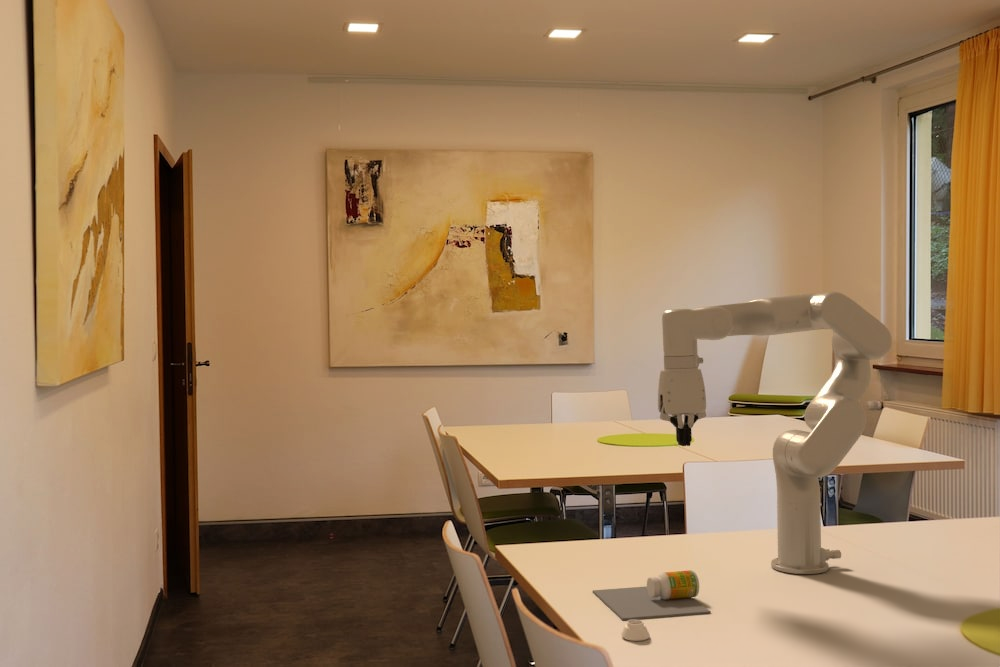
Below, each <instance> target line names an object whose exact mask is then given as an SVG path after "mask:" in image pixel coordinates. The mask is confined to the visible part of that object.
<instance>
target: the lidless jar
mask: <svg viewBox="0 0 1000 667" xmlns="http://www.w3.org/2000/svg"><path fill="white" fill-rule="evenodd" d="M620 635H621V638H623V639H625V640H627V641H630V642H643V641H646V640H648V639H649V638H650V637H651V636H650V633H649V631H648V628H647V626H646V625H645V623H644V621H643V620H642V619H633V620H626V624H625V625H624V626H623V629H622V630H621V634H620Z"/></svg>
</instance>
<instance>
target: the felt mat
mask: <svg viewBox="0 0 1000 667" xmlns="http://www.w3.org/2000/svg"><path fill="white" fill-rule="evenodd" d="M592 593H593V594H594V595H595V597H597V598H598V599H599V600H600V601H601V602H602V603H603V604H605V606H607V608H609V609H610V610H611V611H612V612H613V613H614V614H615V616H617V617H618V618H619V619H620V620H621V621H628V620H643V619H644V620H645V619H655V618H656V619H657V618H658V619H659V618H667V617H668V618H669V617H680V616H682V617H683V616H694V615H706V614H707V615H709V614H712V612H711V610H710V609H708V608H707V607H706V606H704V605H703V604H702V603H700V602H698V600H696V599H694V597H690V598H679V599H669V600H664V599H662V598H661V597H660V596H659V597H650V596H649V594H648V591H647V585H646V586H635V587H634V586H633V587H622V588H608V589H607V588H605V589H593V590H592Z"/></svg>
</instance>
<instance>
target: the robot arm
mask: <svg viewBox="0 0 1000 667" xmlns="http://www.w3.org/2000/svg"><path fill="white" fill-rule="evenodd" d="M661 316H662V317H661V322H662V323H661V324H662V325H661V326H662V346H663V348H662V349H663V368H664V369H663V370H660V373H659V378H658V390H657V410H658V412H659V413H660V415H659V419H660V420H661V421H665V422H666V421H667V422H669V423H671V424H672V425H673V427H674V428H675V432H676V433H675V436H676V442H677V444H678V446H682V447H686V446H687V447H690V446H691V442H692V440H693V439H692V438H693V436H692V435H693V434H692V428H694V425H695V423H696V422H697V421H698V420H701V419H704V418H706V417H707V413H706V410H707V397H706V396H707V395H706V387H705V382H704V377H703V373H702V369H701V368H699V367H700V364H704V357H699V354H698V340H706V341H707V340H708V341H718V340H723V339H725V338H727V337H735V336H737V337H738V336H758V337H759V336H760V337H761V336H775V335H777V336H778V335H783V334H784V335H785V334H792V333H799V332H801V333H802V332H809V331H819V330H831V331H832V332H833V333H832V337H831V345H832V350H833V353H834V354H833V355H834V361H835V362H834V368H833V371H832V373H831V374H830V376H829V377H828V378H827V379H826V382H825V383H824V384H823V385H822V387H821V388H820V389H819V391H818V392H817V394H816V395H815V396H814V397H813V398H812V400H811V401H810V402H809V403H808V405H807V407H806V408H805V411H804V416H803V418H804V422H805V424H806V425H807V427H808V429H810V430H811V432H809V431H806V430H805V431H804V430H802V429H801V430H799V429H790V430H789V429H788V430H787V431H784V432H782V433H781V434H779V435H778V437H777V438H776V439H775V441H774V443H773V447H772V459H773V466H774V471H775V479H776V509H777V510H776V516H777V518H776V520H777V522H776V523H777V524H776V525H777V557H776V558H775V557H774V558H773V559H772V560H771V562H770V565H771V566H770V567H771V568H773V570H776V571H779V572H782V573H787V574H796V575H817V574H822V573H825V572H828V571H829V563H828V562H827V561H829V560H830V559H832V560H834V559H835V560H836V559H837V560H839V559H841V558H842V552H841V550H839V549H834V550H833V549H832V550H830V548H828V549H827V548H823V547H822V526H821V524H822V523H821V521H822V520H821V519H822V518H821V517H822V516H821V485H820V482H819V481H820V480H819V478H823V477H826V476H828V475H829V474H831V473H832V472H834V470H835V469H837V467H838V466H839V465H840V464H841V463H842V461H843V460H844V459H845V457H846V456H847V455H848V453H849V452H850V451H851V449H852V448H853V447H854V446H855V444H856V443H857V441H858V440H859V439H860V437H861V436H862V434H863V432H864V431H865V428H866V425H867V411H866V410H865V407H864V405H863V404H862V403H861V400H862V398H863V397H864V396H865V394H866V393H867V390H868V388H869V387H870V385H871V381H872V379H871V378H872V371H871V362H870V361H872V360H873V361H875V360H879V359H881V358H883V357H885V356H887V354H888V353H890V350H891V348H892V344H893V338H892V334H891V332H890V330H889V328H888V327H886V325H885V324H884V323H883V322H882V321H880V319H878V318H876V317H875V316H874V315H873V314H871V313H870V312H869V311H868V310H866V309H865V308H863V307H862V306H861V305H860V304H858V303H857V302H856V301H854V300H853V299H852V298H851V297H849V296H847V295H846V294H844V293H842V292H837V291H825V292H811V293H803V294H796V295H795V294H793V295H785V296H776V297H767V298H760V299H759V298H758V299H754V300H749V301H744V302H737V303H729V304H720V305H711V306H702V307H696V308H695V309H694V308H693V309H692V308H674V309H671V308H670V309H667V310H665V311H664V312H662V315H661Z"/></svg>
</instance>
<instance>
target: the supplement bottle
mask: <svg viewBox="0 0 1000 667" xmlns="http://www.w3.org/2000/svg"><path fill="white" fill-rule="evenodd" d="M646 586H647V591H648V594H649V596H650V597H659V596H660V597H661V598H662V599H664V600H669V599H679V598H690V597H691V598H696V597H698V595H699V593H700V581H699V578H698V575H697V573H696V572H695V571H694V570H690V569H689V570H688V569H687V570H681V571H680V570H677V571H667V572H661V573H658V575H656V576H651V577H648V578H647V581H646Z"/></svg>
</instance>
